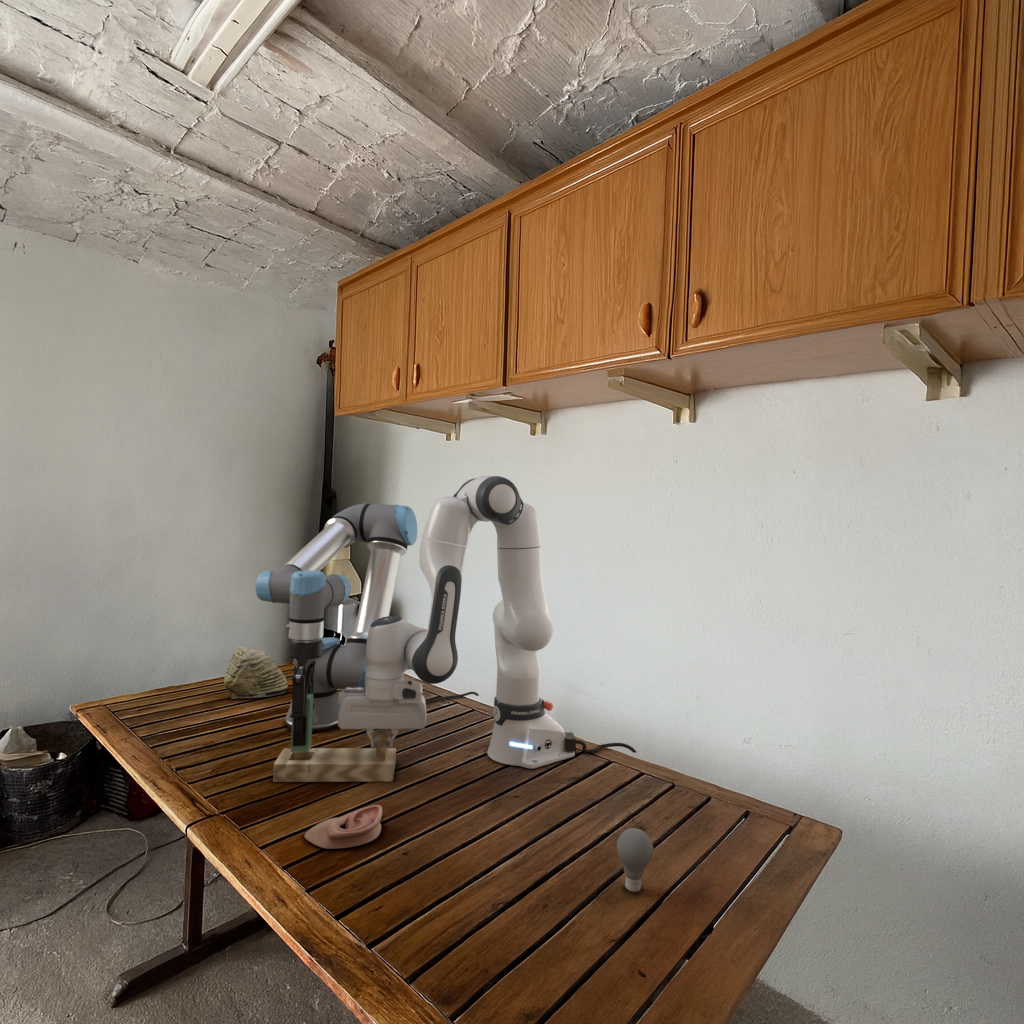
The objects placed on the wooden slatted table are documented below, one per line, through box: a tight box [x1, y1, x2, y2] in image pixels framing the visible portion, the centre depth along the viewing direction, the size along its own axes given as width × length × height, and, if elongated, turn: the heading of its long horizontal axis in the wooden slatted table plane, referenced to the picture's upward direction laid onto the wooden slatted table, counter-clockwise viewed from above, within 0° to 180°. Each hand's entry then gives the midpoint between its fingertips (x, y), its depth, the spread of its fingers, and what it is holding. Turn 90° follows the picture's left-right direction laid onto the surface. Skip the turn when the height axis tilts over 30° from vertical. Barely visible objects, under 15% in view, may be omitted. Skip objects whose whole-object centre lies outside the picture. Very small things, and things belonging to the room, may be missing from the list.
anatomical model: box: [303, 804, 383, 850], centre depth 119 cm, size 13×4×12 cm
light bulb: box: [616, 827, 654, 893], centre depth 106 cm, size 6×6×10 cm
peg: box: [290, 694, 313, 752], centre depth 144 cm, size 4×4×12 cm
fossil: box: [223, 646, 289, 700], centre depth 198 cm, size 9×18×15 cm, turn 132°
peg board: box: [272, 729, 397, 783], centre depth 145 cm, size 26×9×10 cm, turn 96°
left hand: (301, 741), depth 144 cm, fingers closed on peg, 4 cm apart
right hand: (382, 746), depth 146 cm, fingers closed on peg board, 2 cm apart
